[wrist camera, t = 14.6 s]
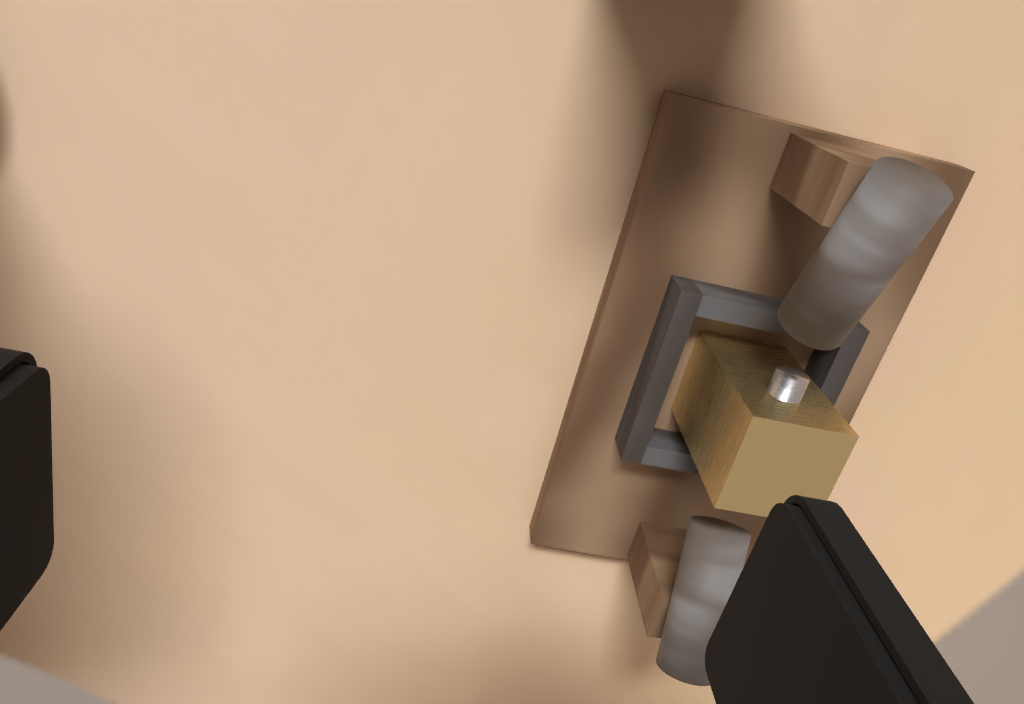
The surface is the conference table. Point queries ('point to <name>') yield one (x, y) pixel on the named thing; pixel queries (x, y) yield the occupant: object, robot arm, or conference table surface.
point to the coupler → (758, 425)
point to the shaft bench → (728, 333)
